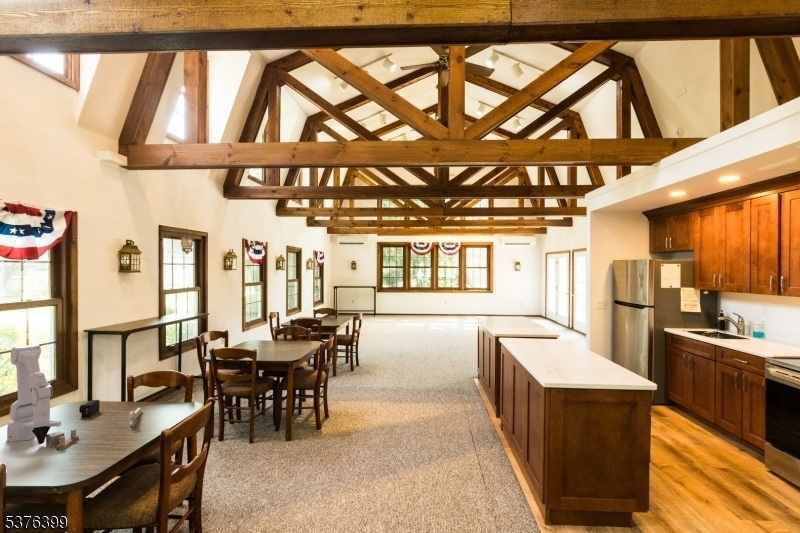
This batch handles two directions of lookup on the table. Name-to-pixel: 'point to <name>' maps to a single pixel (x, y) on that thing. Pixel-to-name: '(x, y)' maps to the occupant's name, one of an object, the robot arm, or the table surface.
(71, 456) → the table surface
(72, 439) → the peg rack
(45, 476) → the table surface
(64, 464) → the table surface
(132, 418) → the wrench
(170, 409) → the table surface
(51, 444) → the dice cube
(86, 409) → the digital camera
